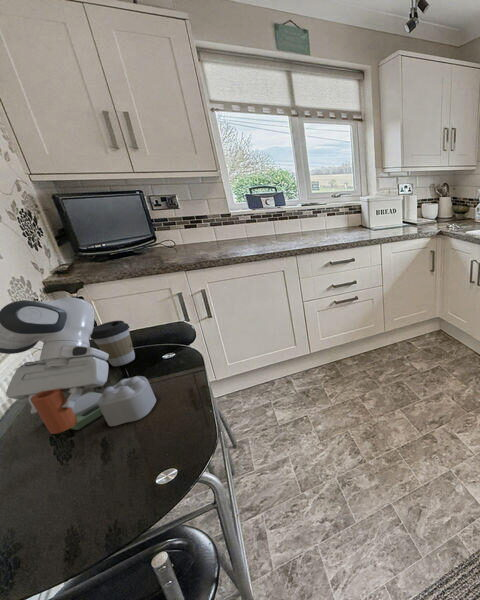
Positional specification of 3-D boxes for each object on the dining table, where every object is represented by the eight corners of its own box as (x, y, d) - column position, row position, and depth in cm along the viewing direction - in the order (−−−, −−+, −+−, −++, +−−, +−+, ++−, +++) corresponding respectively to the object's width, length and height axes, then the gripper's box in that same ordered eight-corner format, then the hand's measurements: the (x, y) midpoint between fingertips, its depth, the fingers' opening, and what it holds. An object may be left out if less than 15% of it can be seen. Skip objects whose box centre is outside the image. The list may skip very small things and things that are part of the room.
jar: (44, 432, 81) (25, 399, 78) (69, 418, 86) (51, 386, 82) (58, 435, 80) (39, 402, 76) (82, 420, 84) (65, 388, 81)
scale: (44, 423, 92) (40, 415, 91) (92, 396, 103) (88, 389, 102) (77, 430, 88) (73, 422, 87) (123, 401, 99) (119, 394, 98)
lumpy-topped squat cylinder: (102, 429, 88) (88, 402, 85) (123, 400, 100) (112, 376, 96) (146, 417, 91) (135, 392, 88) (162, 391, 102) (152, 367, 99)
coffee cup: (145, 358, 124) (130, 323, 119) (107, 373, 116) (89, 335, 111) (138, 350, 131) (123, 316, 126) (102, 363, 124) (84, 328, 118)
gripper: (6, 360, 81) (-11, 417, 76) (98, 346, 85) (88, 401, 79) (30, 366, 87) (16, 420, 82) (115, 353, 90) (107, 404, 85)
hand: (52, 410), depth 80 cm, fingers closed on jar, 5 cm apart
